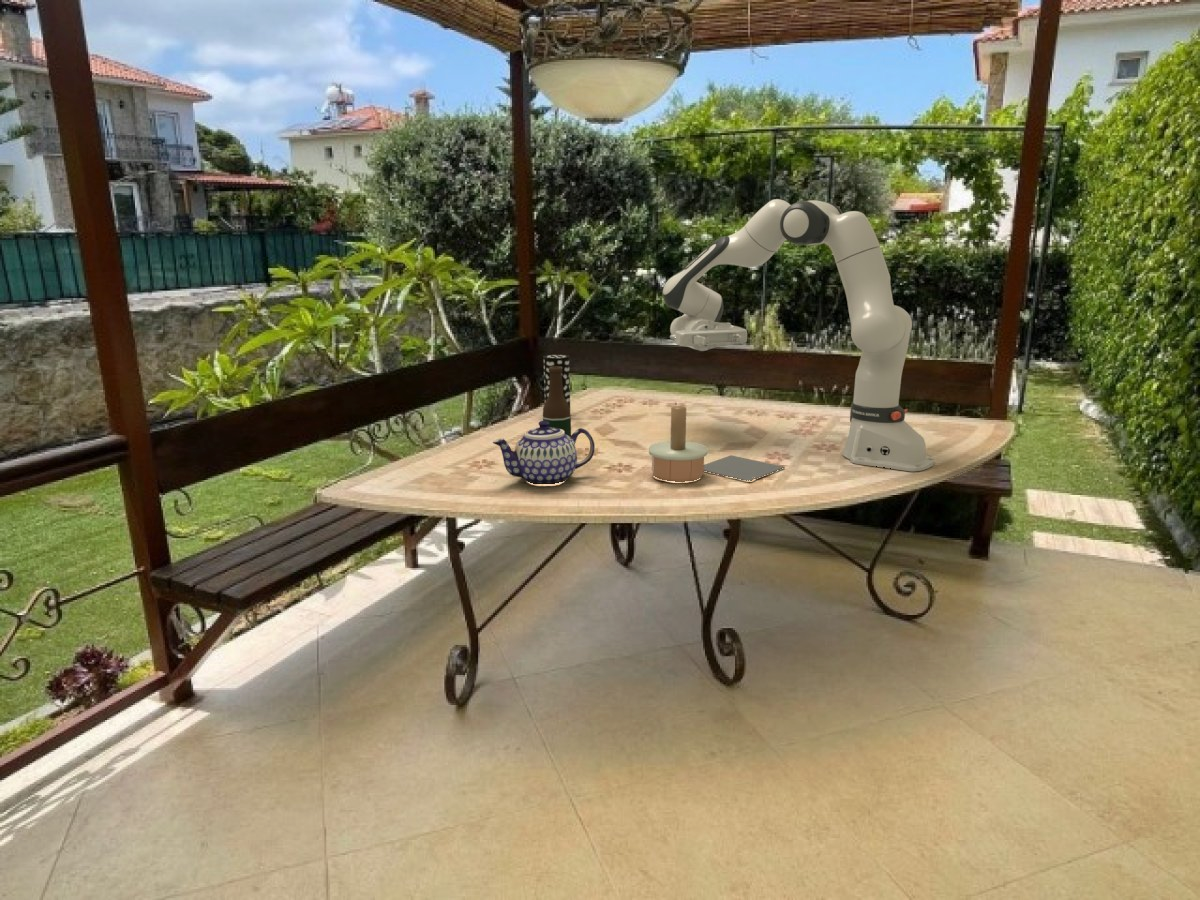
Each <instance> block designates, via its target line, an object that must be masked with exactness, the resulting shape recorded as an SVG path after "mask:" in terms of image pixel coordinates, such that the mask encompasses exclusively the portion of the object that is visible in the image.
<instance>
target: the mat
mask: <svg viewBox="0 0 1200 900" xmlns="http://www.w3.org/2000/svg"><path fill="white" fill-rule="evenodd" d="M782 468H786V467H785V466H783V465H778V464H773V463H769V462H764V461H761V460H760V461H759V460H754V459H750V458H747V457H742V456H736V455H728V456H724V457H722V458H719V459H717V460H714V461H711V462H708V463H704V471H707V472H711V473H715V474H719V475H724V476H728V477H733V478H737V479H741V480H746V481H747V480H748V481H749V480H750V481H752V480H753V479H757V478H759V477H762V476H764V475H767V474H770V473H772V472H775V471H777V470H780V469H782ZM752 477H753V478H752ZM754 477H755V478H754Z"/></svg>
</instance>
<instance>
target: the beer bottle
mask: <svg viewBox="0 0 1200 900" xmlns="http://www.w3.org/2000/svg"><path fill="white" fill-rule="evenodd" d="M549 372H550V385H549V397H548V399H547V400H546V402H545V401H544V404H543V407H542V421H543V420H545V421H548V422H549V426H548V427H551V428H558V429H562V430H564V433H565V434H566V435H568V436H571V435H572V418H571V417H572V416H571V407H570V408H569V405H568V403H567V401H566V399H565V398H564V394H563V385H562V373H561V372H562V367H560V366H552V367H549Z"/></svg>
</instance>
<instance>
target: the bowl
mask: <svg viewBox="0 0 1200 900" xmlns="http://www.w3.org/2000/svg"><path fill="white" fill-rule="evenodd" d="M704 465H705V456H704V457H702V458H699V459H694V460H666V459H660V458H656V457H654V456H652V455H651V472H652V477H653V476H655V477H657V478H659V479H662V480H667V481H675V482H685V481H694V480H697V479H699V478H701V477H702V478H703V476H704V473H705V472H704Z"/></svg>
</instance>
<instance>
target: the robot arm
mask: <svg viewBox="0 0 1200 900" xmlns="http://www.w3.org/2000/svg"><path fill="white" fill-rule="evenodd" d="M786 241H788V242H789V243H792V244H794V245H796V246H797V245H798V246H819V245H823V244H825V245H826V246H828V247H829V249H830V251H831V253H832V256H833V258H834V261H835V264H836V267H837V271H838V273H839V277H840V280H841V283H842V286H843V289H844V293H845V297H846V301H847V303H846V304H847V308H848V314H849V316H848V317H849V321H850V326H851V329H850V335H851V339H852V343H853V344H854V345H855V346H856V347H857V348H858V349H859V350H860V351H861V355H860V359H859V362H858V366H857V369H856V370H855V379H854V389H853V401H852V402H851V404H850V412H849V423H850V425H849V430H848V435H847V439H846V443H845V445H844V448H843V451H842V456H843V457H844V458H847V459H848V460H850V462H851V463H852V464H856V465H861V466H862V465H863V466H871V467H876V466H877V468H883V467H885V468H884V469H890V468H891V470H896V471H904V472H920V471H924V470H928V469H929V468H931V467H933V466H934V465H935V458H934V457H933V456H930V455H927V446H926V441H925V438H924V437H923V436H922V435H921V434H919V432H917V431H916V429H914V428H913V427H912V426H911V425H909V423H908V422H907V421H905V417H906V414H907V413H908V408H905V409H904V408H903V407H902V406H900V404H899V402H900V392H901V386H902V385H901V384H902V375H903V369H904V367H905V366H904V365H905V362H906V356H907V353H908V347H909V343H910V338H911V331H912V328H913V321H912V317H911V316H910V314H909V312H907V311H906V310H905V309H904V308H902V307H901V306H898V305H895V304H894V299H893V293H892V286H891V275H890V272H889V269H888V266H887V262H886V261H885V257H884V253H883V250H882V247H881V245H880V242H879V239H878V237H877V234H876V233H875V230H874V228H873V226H872V225H871V222H870V220H868V218H867V216H866V215H865V214H864V213H863V212H861V211H858V210H851V211H846V212H843V210H841V209H840V207H838V206H837V204H835V203H832V202H830V201H820V200H816V199H815V200H813V199H812V200H800V201H796V202H795V203H793V204H790V203H789V202H788V201H787V200H783V199H779V198H776V199H775V198H774V199H771V200H770V201H768V202H766V204H764V205H763V206H762V207H760V209H759V210H758V211H757V212H755V214H754V215H753V216H752V217H751V218H750V219H749V220H748V221H747V222H746V224H744V226H743V227H742V228H741V229H739V230H738V231H736V232H734V233H732V234H730V235H725V236H720V237H718V238H716V240H714V241H713V242H712V243H710V245H708V246H707V247H706V248H705V249H703V250H702V252H700V253H699V254H698V255H697V256H695V258H693V259H692V260H691V261H690V262H689V263H688V264H686V266H683V267H684V268H682V269H681V270H679V271H678V272H676V273H675V274H673V275H672V276H670V278H668V279H667V281H666V282H665V283H664V286H663V288H662V292H661V294H662V298H663V301H664V303H665V305H666V307H668V308H671V309H673V310H675V311H679V312H680V313H683V314H682V316H681V315H680V316H679V317H676V318H674V319H673V320H672V322H671V324H670V327H669V330H670V331H669V332H670V335H669V338H670V339H671V340H674V343H675V345H677V346H680V347H687V348H691V349H693V350H697V351H699V352H704V351H705V352H706V351H708V350H711V349H715V348H718V347H725V346H731V345H733V344H734V345H735V344H745V343H747V341H748V330H747V329H746V328H744V327H741V326H737V325H732V323H731V322H726V321H720V320H721V319H722V315H723V314H724V301H723V297H722V294H720V293H718V292H716V291H714V290H713V289H711V288H709V287H708V286H707V287H706V286H705V285H703V284H701V283H700V282H698V280H699V279H701V277H702V276H704V275H706V273H708V272H709V271H710V269H712V268H713V267H715V266H720V265H731V266H732V265H733V266H739V267H743V268H755V267H760V266H762V265H763V264H765V263H766V262H768V261H769V260H770V259H771V257H773V255H775V254H776V252H777V251H778V250H779V249H780V248H781V246H783V244H784V243H785V242H786Z"/></svg>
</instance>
